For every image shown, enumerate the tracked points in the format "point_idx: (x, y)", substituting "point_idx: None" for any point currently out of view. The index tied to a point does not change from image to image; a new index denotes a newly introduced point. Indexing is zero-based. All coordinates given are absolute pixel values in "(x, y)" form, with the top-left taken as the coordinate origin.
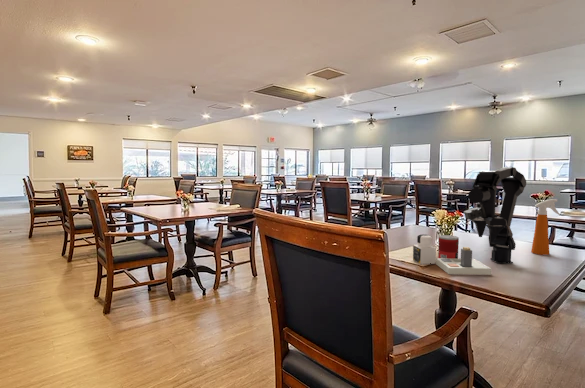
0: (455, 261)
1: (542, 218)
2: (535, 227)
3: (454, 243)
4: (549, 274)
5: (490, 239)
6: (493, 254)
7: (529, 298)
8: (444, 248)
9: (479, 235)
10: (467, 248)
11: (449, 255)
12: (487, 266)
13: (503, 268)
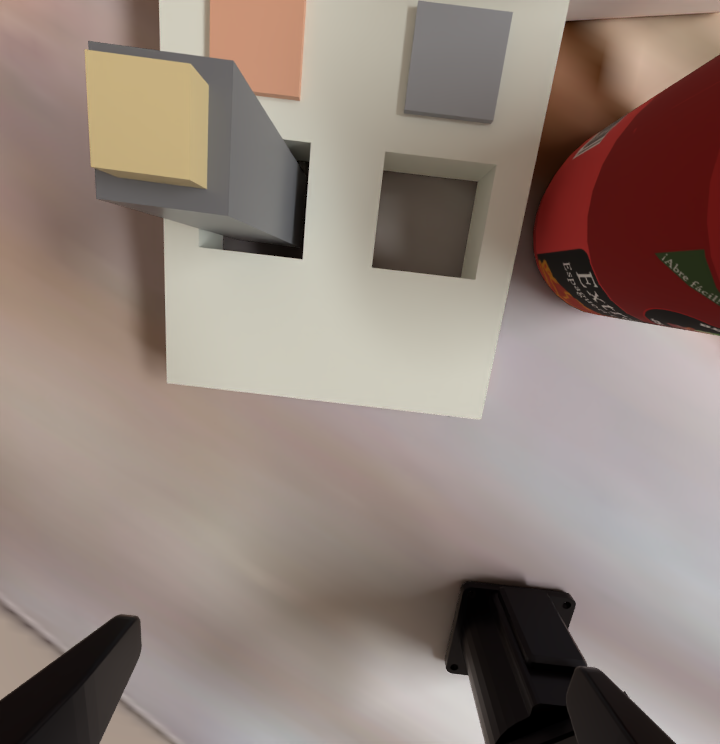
0: (479, 217)
1: None
2: None
3: (690, 202)
4: (219, 700)
5: (73, 653)
6: (536, 628)
7: None
8: (695, 70)
9: (597, 701)
10: (92, 107)
11: (581, 173)
12: (227, 387)
13: (346, 544)
